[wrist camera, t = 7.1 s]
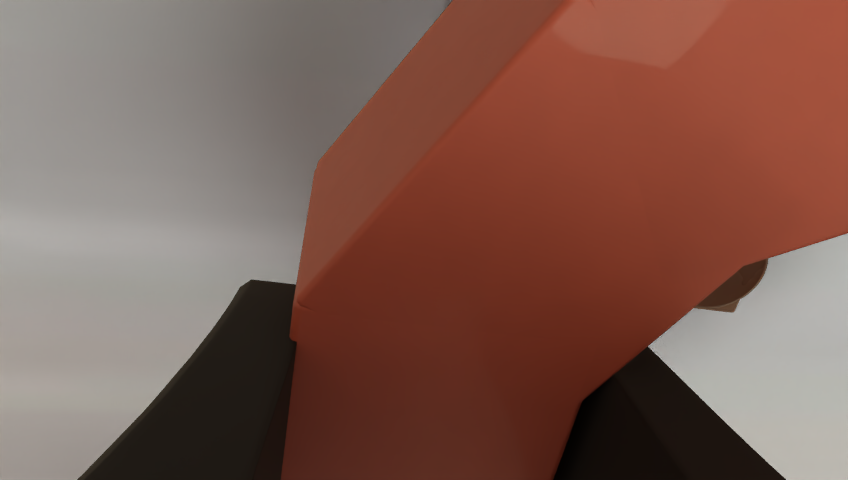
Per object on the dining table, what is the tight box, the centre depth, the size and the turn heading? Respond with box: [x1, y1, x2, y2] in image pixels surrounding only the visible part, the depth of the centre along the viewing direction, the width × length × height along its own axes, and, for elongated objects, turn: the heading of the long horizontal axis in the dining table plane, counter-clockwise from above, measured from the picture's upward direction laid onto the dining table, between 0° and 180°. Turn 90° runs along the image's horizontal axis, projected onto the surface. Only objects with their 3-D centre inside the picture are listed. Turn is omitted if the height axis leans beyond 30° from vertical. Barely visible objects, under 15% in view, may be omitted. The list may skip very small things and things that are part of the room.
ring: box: [281, 0, 848, 480], centre depth 9 cm, size 13×13×3 cm
